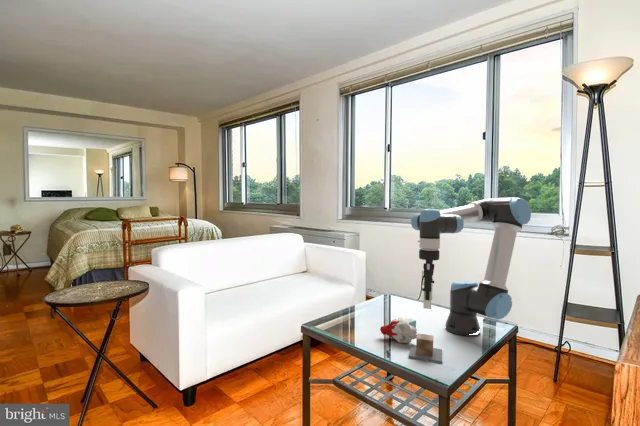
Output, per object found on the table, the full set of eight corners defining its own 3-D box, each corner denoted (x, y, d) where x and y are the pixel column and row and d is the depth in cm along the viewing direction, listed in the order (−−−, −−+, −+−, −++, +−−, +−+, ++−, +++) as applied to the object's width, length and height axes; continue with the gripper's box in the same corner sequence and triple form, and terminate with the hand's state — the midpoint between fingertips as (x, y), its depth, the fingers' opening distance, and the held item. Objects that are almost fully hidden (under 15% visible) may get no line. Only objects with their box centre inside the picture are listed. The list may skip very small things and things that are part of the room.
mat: (442, 351, 138) (442, 349, 138) (442, 363, 127) (442, 361, 127) (411, 346, 142) (411, 344, 142) (408, 357, 131) (408, 355, 131)
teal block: (415, 328, 164) (416, 320, 164) (408, 331, 160) (408, 322, 160) (408, 326, 167) (408, 318, 167) (401, 329, 163) (401, 320, 163)
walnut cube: (433, 350, 136) (433, 335, 136) (432, 356, 130) (433, 340, 130) (417, 348, 138) (417, 333, 138) (416, 354, 132) (416, 338, 132)
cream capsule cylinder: (409, 331, 160) (409, 318, 160) (408, 334, 155) (408, 321, 155) (398, 329, 162) (398, 316, 162) (396, 333, 157) (397, 319, 157)
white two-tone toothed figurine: (418, 345, 142) (381, 346, 144) (415, 335, 153) (380, 336, 155) (416, 323, 142) (379, 325, 144) (413, 315, 153) (379, 316, 155)
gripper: (421, 245, 147) (419, 295, 147) (416, 252, 123) (415, 311, 124) (439, 246, 144) (438, 297, 145) (439, 253, 121) (437, 314, 121)
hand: (428, 303), depth 134 cm, fingers open, 13 cm apart
